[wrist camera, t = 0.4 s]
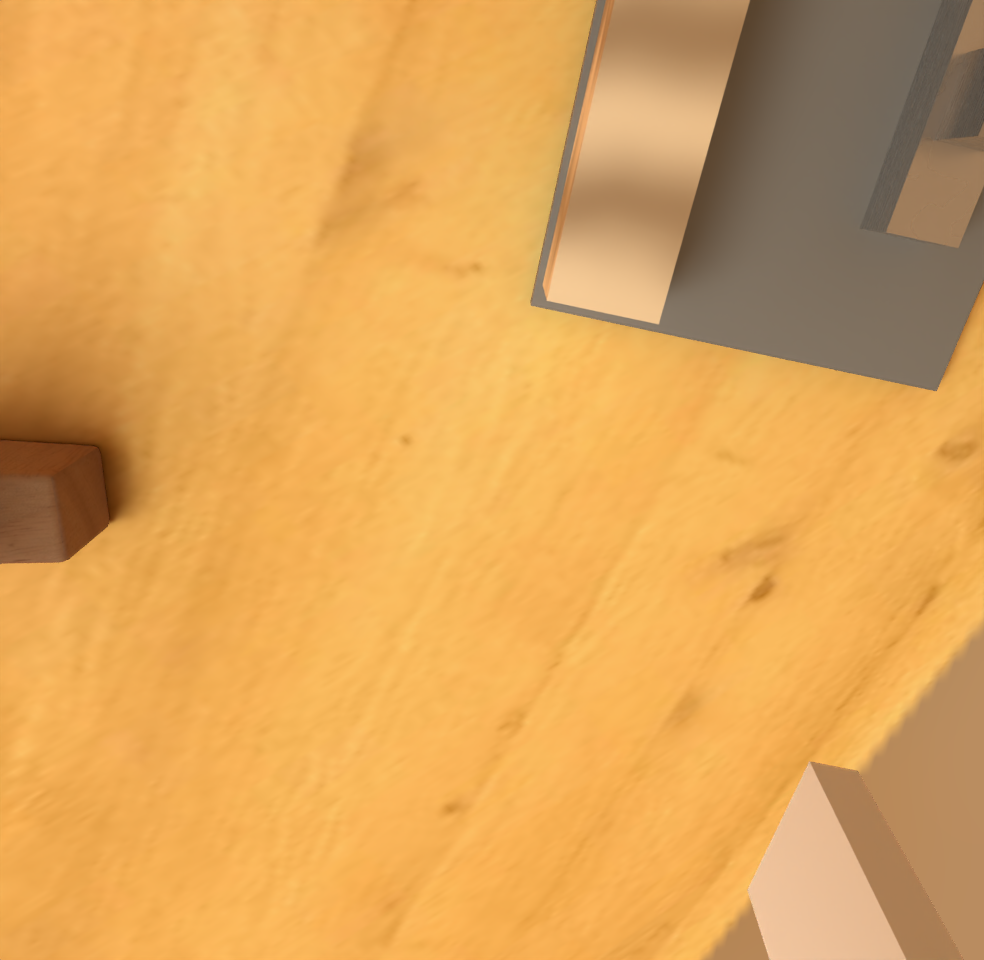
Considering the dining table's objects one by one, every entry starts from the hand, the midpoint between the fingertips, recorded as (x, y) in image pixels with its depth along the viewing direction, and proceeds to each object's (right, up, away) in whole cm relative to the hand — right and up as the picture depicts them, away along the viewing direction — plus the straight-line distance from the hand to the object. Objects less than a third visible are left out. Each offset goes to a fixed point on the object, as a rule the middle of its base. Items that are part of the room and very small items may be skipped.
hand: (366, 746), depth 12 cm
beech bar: (+8, +21, +19) cm, 30 cm away
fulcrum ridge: (+20, +19, +20) cm, 34 cm away
